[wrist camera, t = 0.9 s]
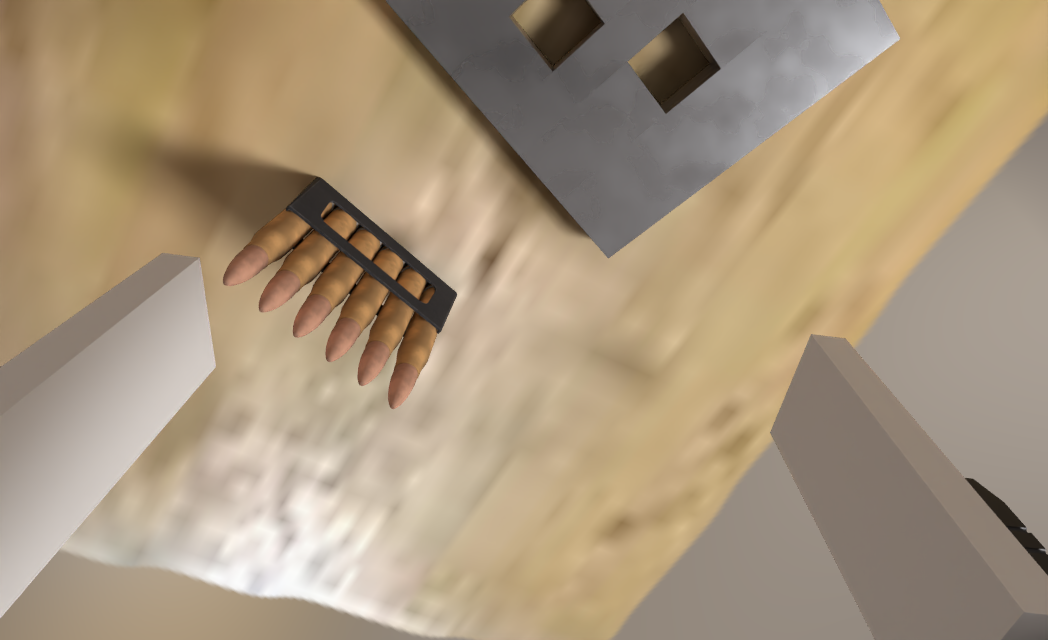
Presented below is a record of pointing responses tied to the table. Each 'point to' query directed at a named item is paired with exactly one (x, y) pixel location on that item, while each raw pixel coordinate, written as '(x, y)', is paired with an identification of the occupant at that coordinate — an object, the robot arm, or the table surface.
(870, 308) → the table surface
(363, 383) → the ammunition clip
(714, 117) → the socket plate
